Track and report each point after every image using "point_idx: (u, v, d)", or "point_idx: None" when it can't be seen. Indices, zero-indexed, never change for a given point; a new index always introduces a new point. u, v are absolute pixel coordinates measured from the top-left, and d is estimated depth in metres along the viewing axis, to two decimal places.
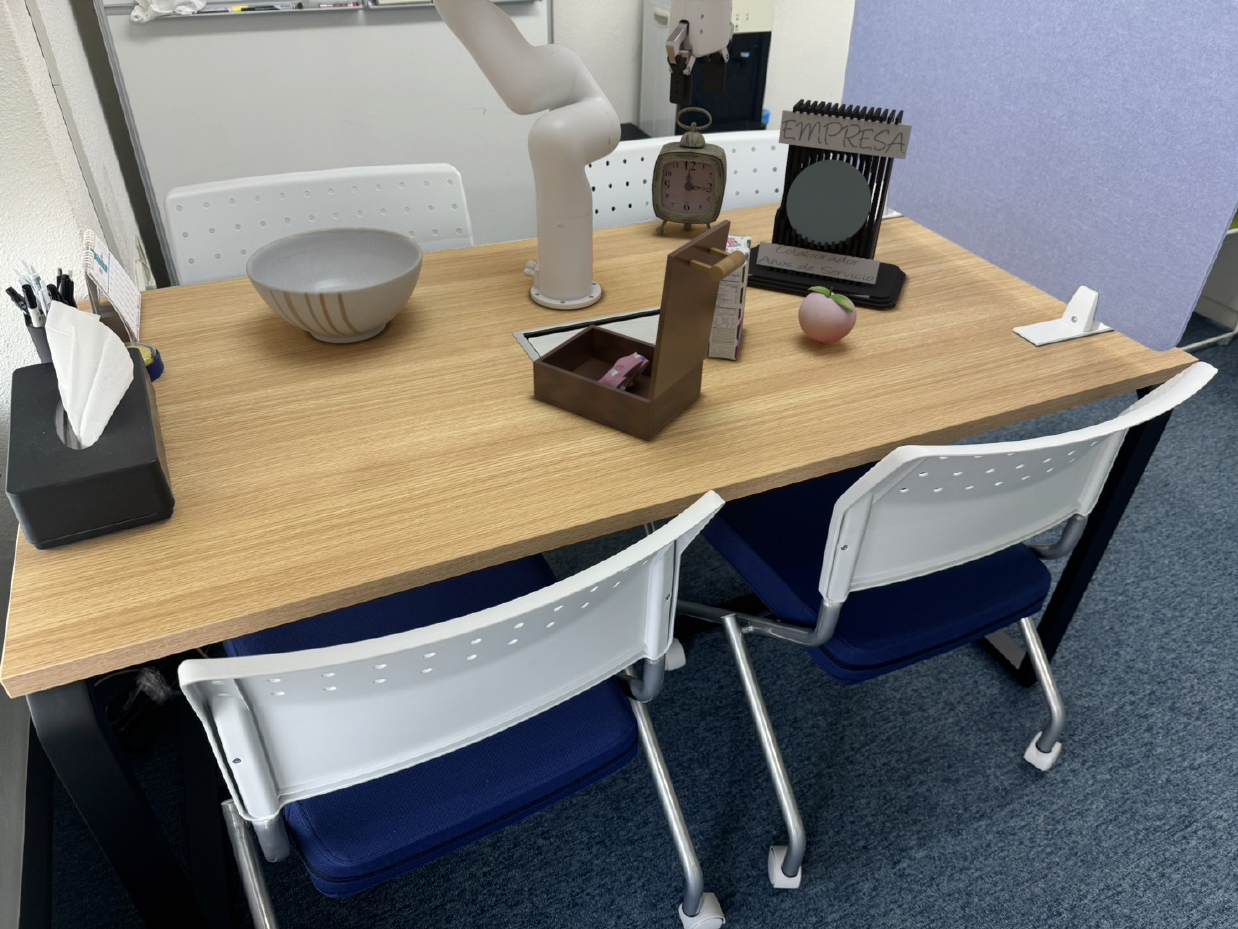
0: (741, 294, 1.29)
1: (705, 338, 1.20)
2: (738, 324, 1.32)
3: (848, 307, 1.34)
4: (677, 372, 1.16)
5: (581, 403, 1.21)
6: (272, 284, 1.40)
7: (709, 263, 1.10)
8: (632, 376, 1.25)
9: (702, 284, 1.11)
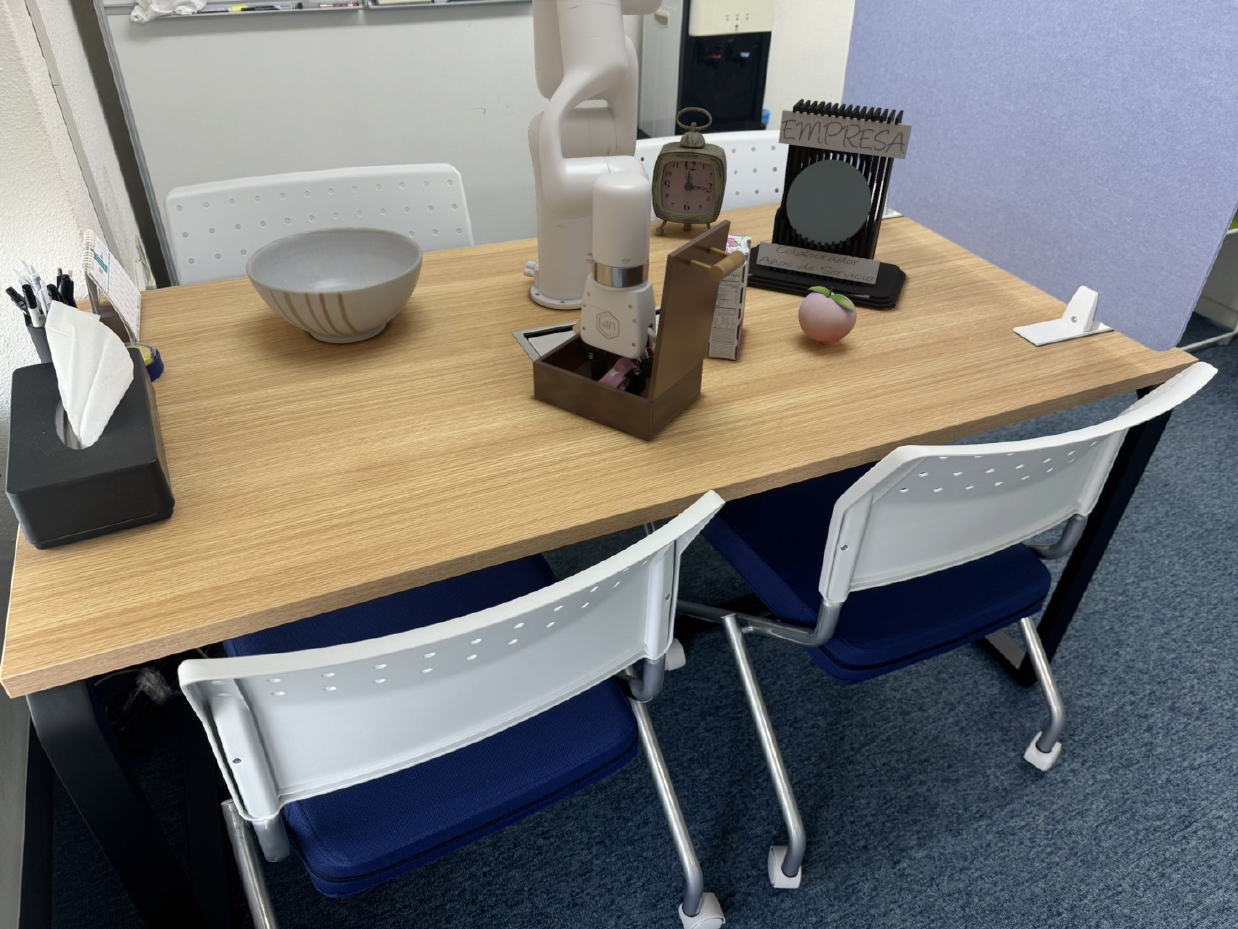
0: (741, 294, 1.29)
1: (705, 338, 1.20)
2: (738, 324, 1.32)
3: (848, 307, 1.34)
4: (677, 372, 1.16)
5: (581, 403, 1.21)
6: (272, 284, 1.40)
7: (709, 263, 1.10)
8: None
9: (702, 284, 1.11)
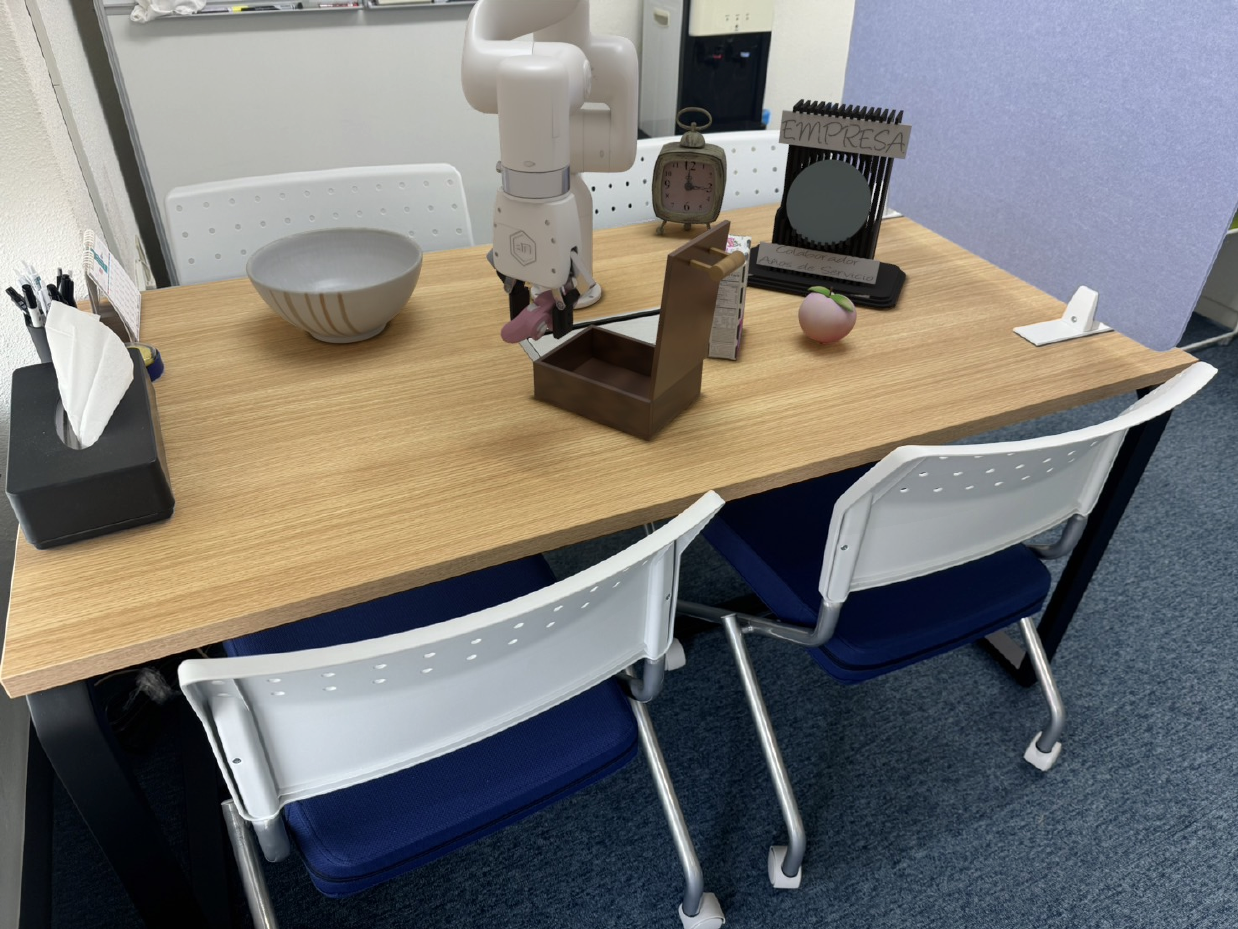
0: (741, 294, 1.29)
1: (705, 338, 1.20)
2: (738, 324, 1.32)
3: (848, 307, 1.34)
4: (677, 372, 1.16)
5: (581, 403, 1.21)
6: (272, 284, 1.40)
7: (709, 263, 1.10)
8: None
9: (702, 284, 1.11)
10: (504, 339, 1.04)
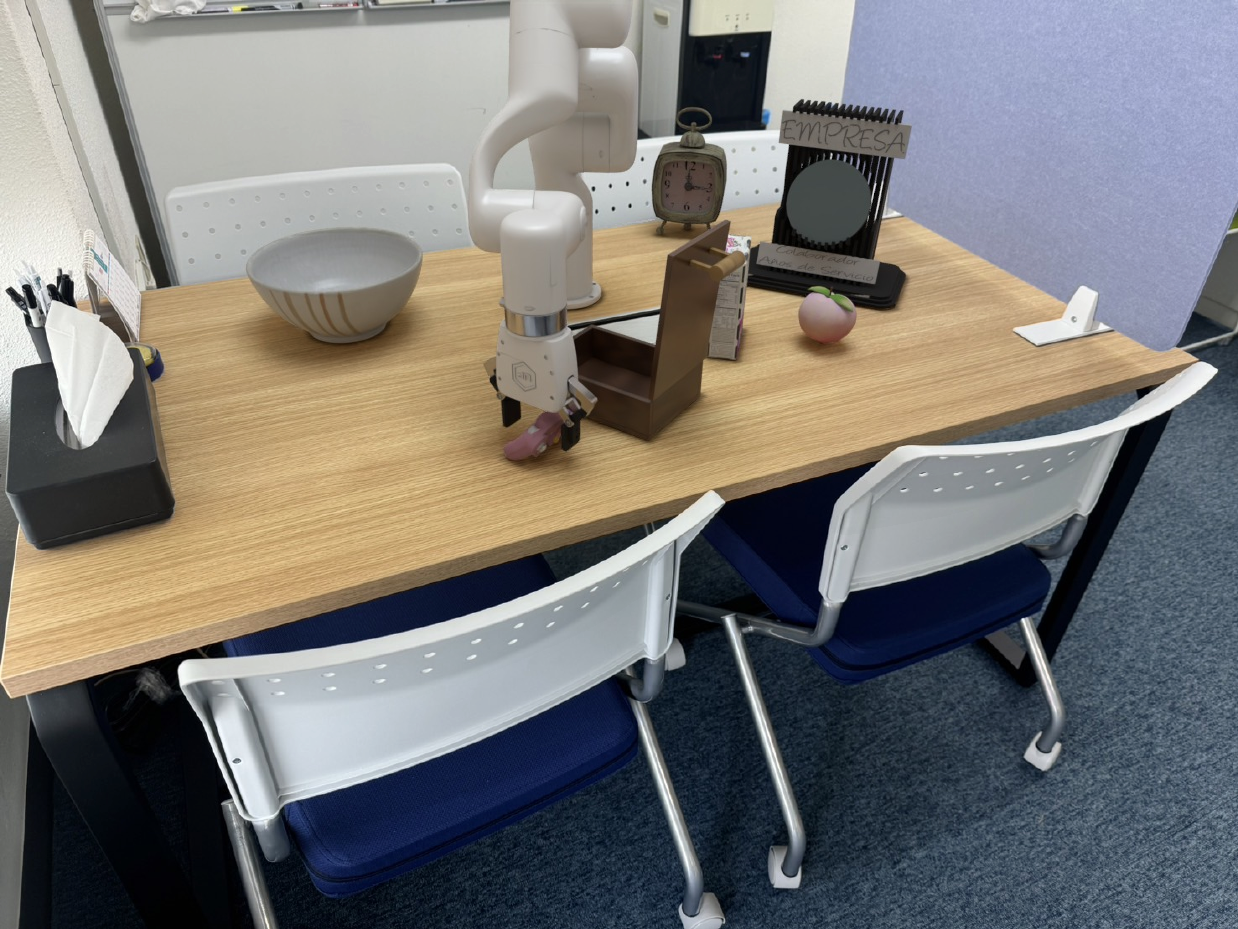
0: (741, 294, 1.29)
1: (705, 338, 1.20)
2: (738, 324, 1.32)
3: (848, 307, 1.34)
4: (677, 372, 1.16)
5: None
6: (272, 284, 1.40)
7: (709, 263, 1.10)
8: (556, 432, 1.14)
9: (702, 284, 1.11)
10: (507, 456, 1.13)
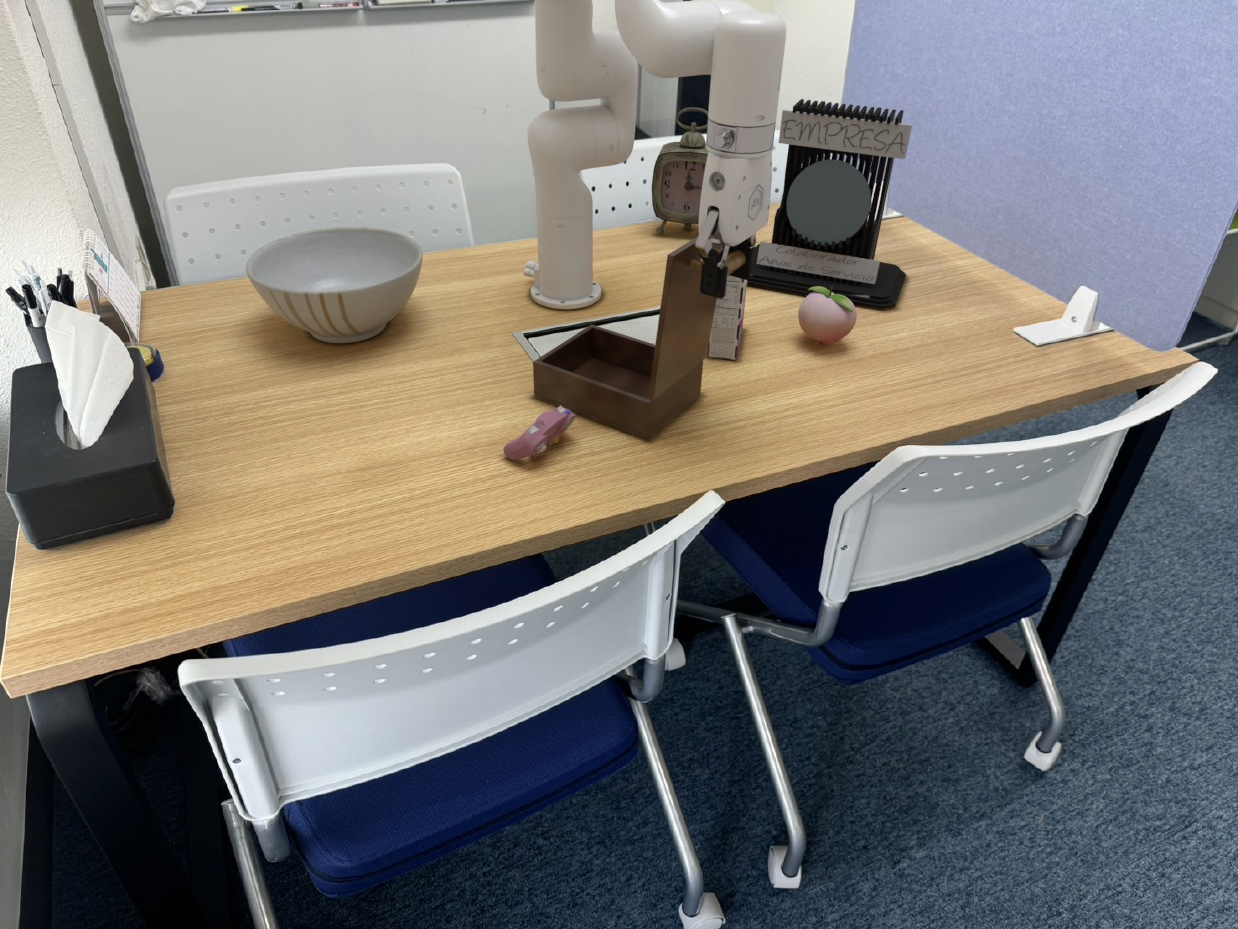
0: (741, 294, 1.29)
1: (705, 338, 1.20)
2: (738, 324, 1.32)
3: (848, 307, 1.34)
4: (677, 372, 1.16)
5: (581, 403, 1.21)
6: (272, 284, 1.40)
7: None
8: (556, 432, 1.14)
9: None
10: (507, 456, 1.13)
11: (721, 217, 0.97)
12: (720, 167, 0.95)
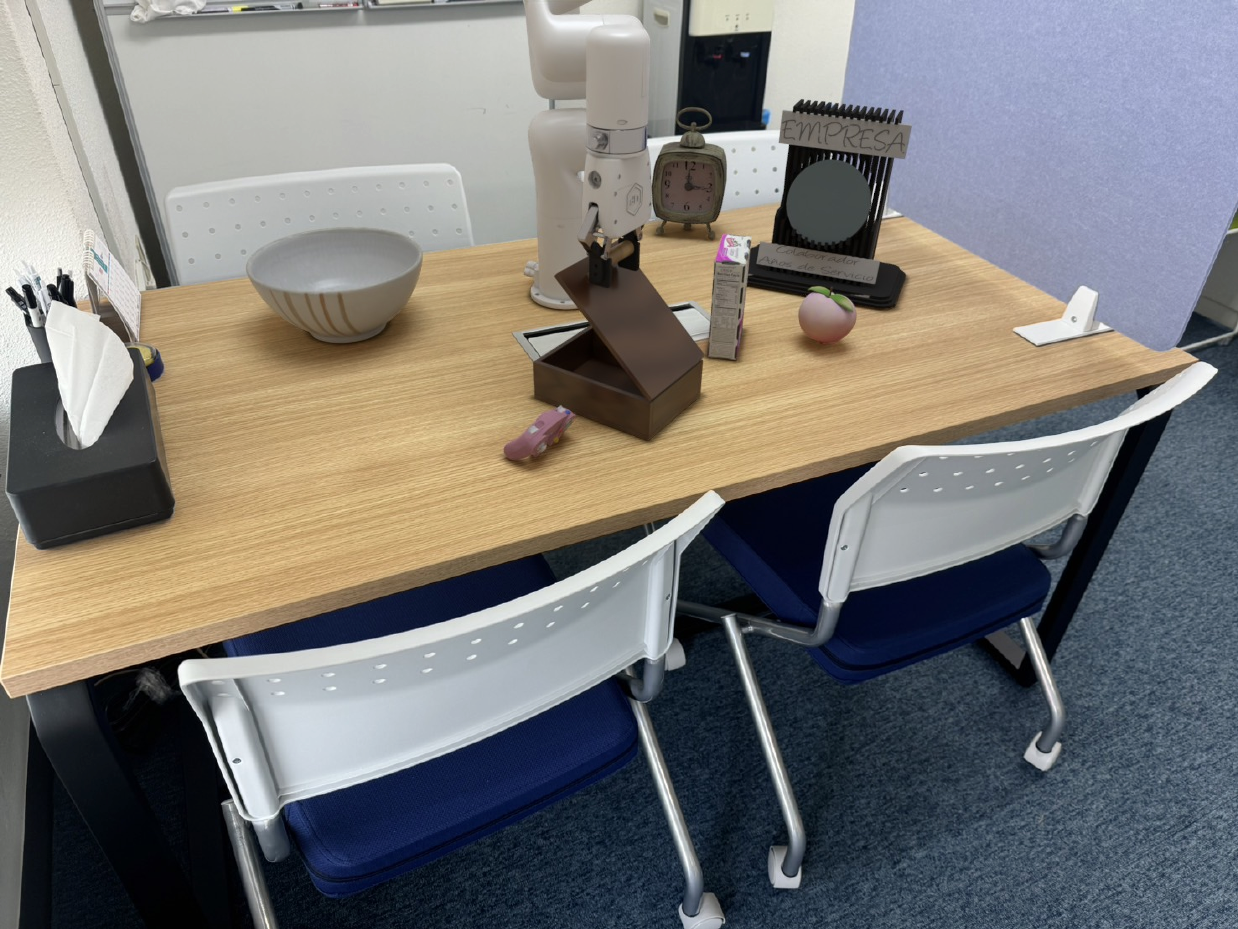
0: (741, 294, 1.29)
1: (684, 337, 1.22)
2: (738, 324, 1.32)
3: (848, 307, 1.34)
4: (668, 370, 1.17)
5: (581, 403, 1.21)
6: (272, 284, 1.40)
7: (620, 274, 1.19)
8: (556, 432, 1.14)
9: (627, 291, 1.19)
10: (507, 456, 1.13)
11: (600, 212, 1.06)
12: (596, 166, 1.04)
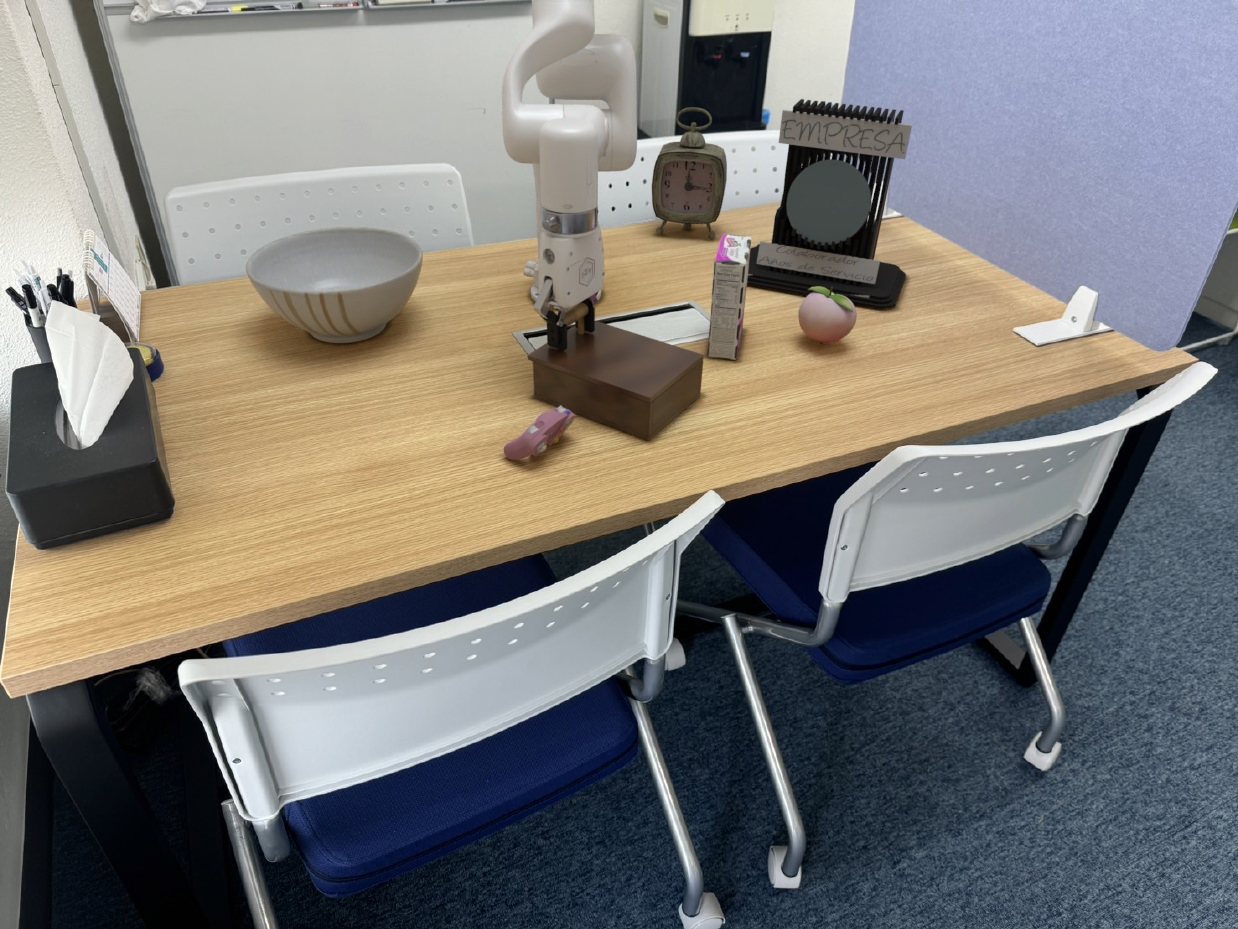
0: (741, 294, 1.29)
1: (675, 351, 1.24)
2: (738, 324, 1.32)
3: (848, 307, 1.34)
4: (663, 375, 1.18)
5: (581, 403, 1.21)
6: (272, 284, 1.40)
7: (594, 336, 1.27)
8: (556, 432, 1.14)
9: (604, 343, 1.26)
10: (507, 456, 1.13)
11: (554, 285, 1.16)
12: (550, 245, 1.14)
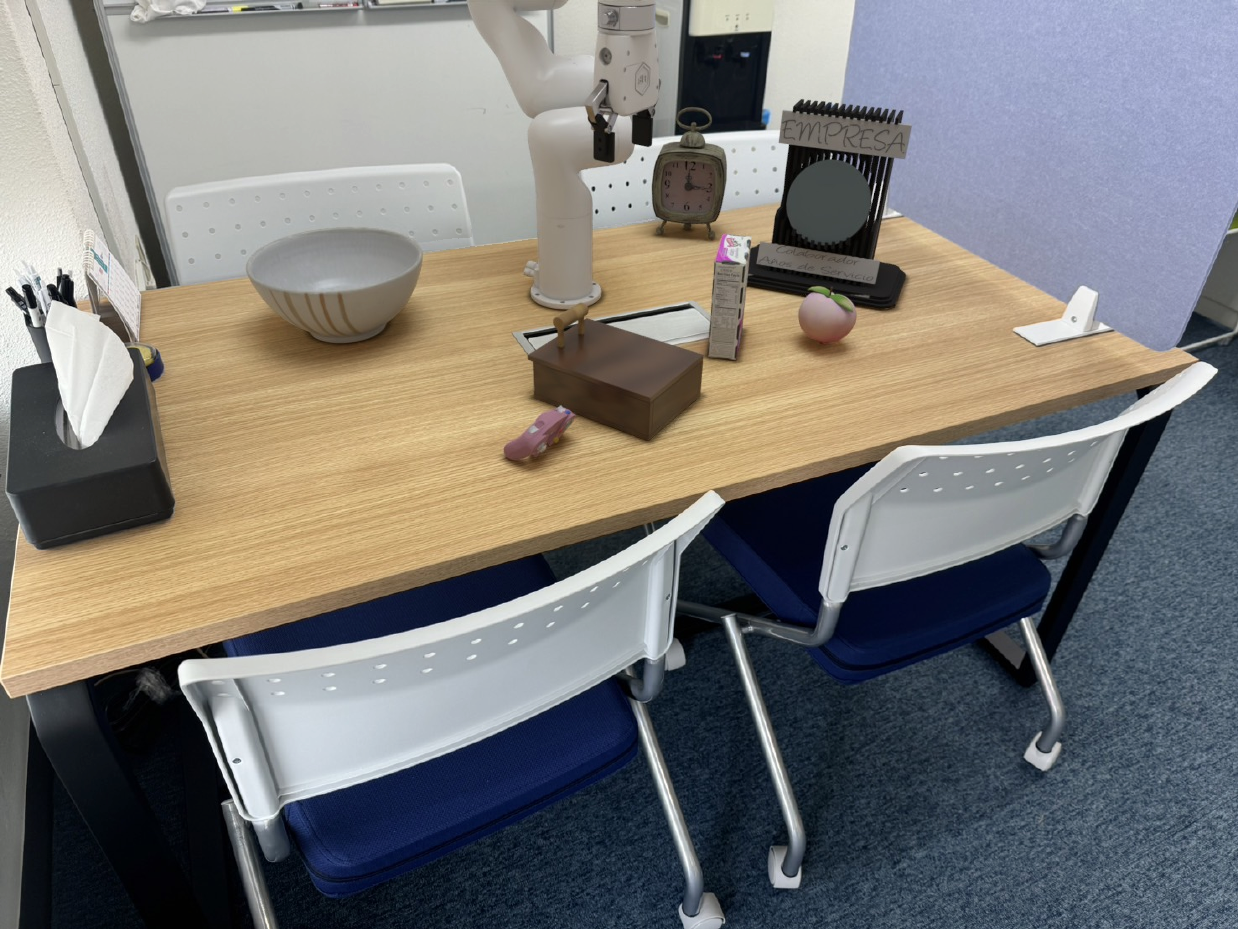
0: (741, 294, 1.29)
1: (675, 351, 1.24)
2: (738, 324, 1.32)
3: (848, 307, 1.34)
4: (663, 375, 1.18)
5: (581, 403, 1.21)
6: (272, 284, 1.40)
7: (594, 336, 1.27)
8: (556, 432, 1.14)
9: (604, 343, 1.26)
10: (507, 456, 1.13)
11: (610, 89, 1.13)
12: (607, 43, 1.11)
